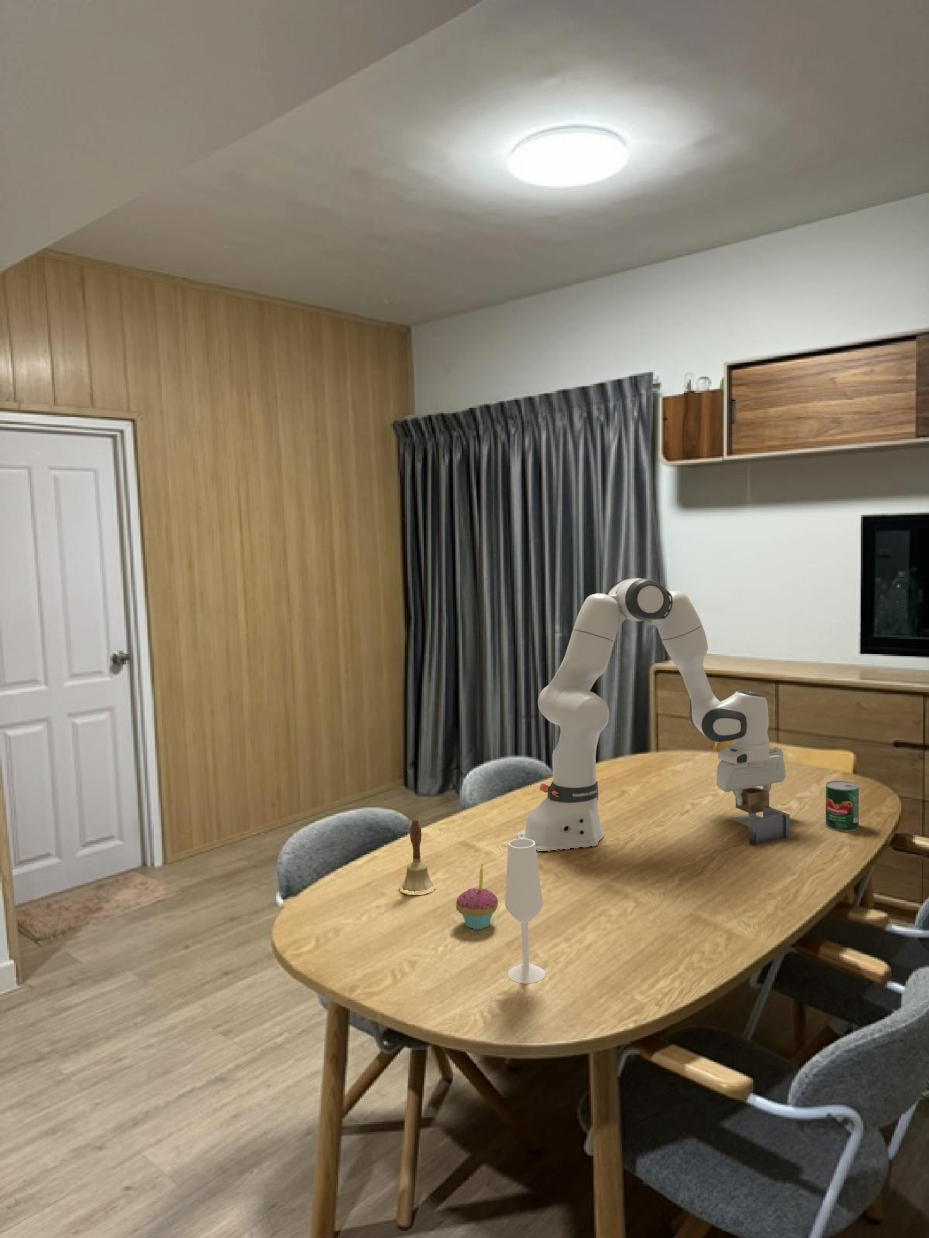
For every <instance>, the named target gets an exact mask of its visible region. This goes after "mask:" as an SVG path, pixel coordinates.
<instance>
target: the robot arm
mask: <svg viewBox="0 0 929 1238" xmlns="http://www.w3.org/2000/svg"><path fill="white" fill-rule="evenodd" d="M626 620H629V621H631V622H643V621H645V622H646V621H651V622H652V623H653V625H655V627H656V629H657V630H658V631H657V632H658V633H659V636H660V639H661V642H662V645H663V646H664V648H665V650H666V652H667V654H668V656H669V657H670V659H671V661H672V662H673V663H674V665H675V667H676V669H678V671H679V673H680V676H681V679H682V682H683V684H684V687H685V690H686V692H687V695H688V698H689V721H690V723H691V724H692V726H693V728H694V729H696V730H697V731H698V732H700V733H701V734H702V735H703V736H704V737H706V738H707V739H708V740H710V741H712V742H715V743H724V742H729V741H733V743H731V744H730V745H729V746H727V747H726V748H723V749H722V750H720V751H719V752H718V753H717V759H718V760H719V762H718V764H717V767H716V768H717V769H716V785H717V787H718V789H719V790H721V791H723V792H727V793H731V792H732V794H733V795H734V796H735V802H736V801H737V805H740V806H741V805H745V798H742V796H741V794H740V793H742V789H746V788H752V787H757V788H758V787H762V789H763V790H766V791H768V792H769V793H770V791H771V789H772V785H773V784H778V783H784V782H785V780H786V778H787V775H786V765H785V760H784V752H783V751H782V749H781V748H779V747H771V748H770V739H769V735H768V730H769V726H770V721H769V707H768V705H769V704H768V701H767V699H766V697H765V696H764V695H763V694H761V693H759V692H756V691H754V690H746V689H739V690H736V691H735V692H734V693H733V694H732V695H731V696H729V697H727V698H726V699H724V700H720V699H719V698H718V697H716V695H715V694H714V693H713V690H712V687H711V684H710V682H709V679H708V676H707V673H706V672H705V667H704V659H705V657H706V655H707V653H708V651H709V645H708V639H707V635H706V632H705V629H704V627H703V623H702V621H701V619H700V617H699V615H698V612H697V610H696V608H695V607H694V605H693V603H692V601H691V599H690V598H689V597H688V595H687V594H686V593H684V592H683V591H681V590H667V589H666V588H665V587H664V586H663V585H662V584H661V583H660V582H657V581H656V580H654V579H651V578H647V577H645V578H640V577H633V578H628V579H622V580H620V581H618V582H616V583H615V584H613V586H612V587H610V589H608V591H606V593H594V594H593V593H592V594H590V595H589V596H587V597H586V599H585V600H584V601H583V603H582V605H581V608H580V610H579V612H578V614H577V617H576V620H575V622H574V625H573V628H572V631H571V635H570V639H569V642H568V644H567V649H566V651H565V653H564V654H565V655H564V656H563V660H562V661H561V663H560V665H559V667H558V670H557V671H556V672H555V675H554V676H553V678H552V679H551V681H550V682H549V684H548V685H546V686H545V687H544V688H542V690H541V691H540V692H539V694H538V699H537V706H538V709H539V712H540V713H541V715H543V716H544V718H545V719H546V720H547V721H549V722H550V723H552V724H553V725H556V726H559V728H560V730H559V731H560V733H559V737H558V738H559V739H558V742H557V745H556V747H555V748H554V749H553V751H552V755H551V756H552V757H551V759H552V781H551V783H550V785H547V784H546V783H545V782H544V783H541V784H540V785H539V790H540V791H541V792H543V793H545V794H546V793H547V795H546V796H547V797H545V799H543V800H542V801H541V802H540V803H539V804H538V805H537V806H536V807H535V808H533V810H531V811H530V812H529V813H528V815H527V817H526V821H525V830H522V831H518V832H517V836H516V837H517V838H518V839H530V840H533V841H534V842H535V845H536V850H538V851H537V852H539V850H540V851H548V850H554V849H565V850H571V849H570V848H574V849H580V848H579V847H583V848H589V847H590V846H592V847H596V845H597V846H598V845H599V842H600V841H601V840H602V839H603V838H604V836H605V833H604V830H603V826H602V822H601V819H600V813H599V806H598V801H599V785H598V784H599V783H598V781H597V766H596V764H597V763H596V759H597V758H596V757H597V746H598V743H599V738H600V736H601V733H602V731H603V730H605V728H606V726H607V725H608V724H609V720H610V717H611V716H610V709H609V708H610V707H609V706H608V704H607V702H606V701H605V700H604V699H602V697H600V695H598V694H596V693H595V692H593V691H591V690H592V688H593V685H594V684H595V683H596V681H597V680H598V679H599V677H601V676H602V675H603V674H604V673H605V672H606V670H607V668H608V666H609V665H608V664H609V662H610V658H611V656H612V655H611V654H612V651H613V648H614V645H615V641H616V637H617V635H618V634H617V633H618V631H619V629H620V626H621V625H622V623H623V622H624V621H626ZM517 838H516V839H517ZM548 852H549V851H548Z"/></svg>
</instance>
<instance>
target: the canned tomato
mask: <svg viewBox="0 0 929 1238" xmlns="http://www.w3.org/2000/svg"><path fill="white" fill-rule="evenodd" d="M859 804H860V786H859V784H857V783H855V782H852V781H846V780H845V781H844V780H832V781H831V780H830V781H828V782H825V826H826V827H827V828H828V829H830V830H832V831H837V832H855V831H857V830H859V829H860V826H859V825H860V824H859V823H860V819H859V816H860V805H859Z"/></svg>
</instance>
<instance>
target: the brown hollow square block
mask: <svg viewBox="0 0 929 1238" xmlns="http://www.w3.org/2000/svg"><path fill="white" fill-rule="evenodd" d="M740 794H741V796H742V798H745V805H741V806H740V805H737V801H736V800H735V808H736V809H738V810H741V811H742V812H746V813H748V814H749V813H756V814H757V813H763V806H769V807H770V791H769V792H768V791H766V790H763V788H760V787H758V786H757V787H752V788H746V789H742V793H740Z"/></svg>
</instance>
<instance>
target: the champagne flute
mask: <svg viewBox="0 0 929 1238" xmlns="http://www.w3.org/2000/svg"><path fill="white" fill-rule="evenodd" d="M507 844H508V845H507V862H506V864H507V865H506V876H505V877H506V879H505V880H506V881H505V882H506V883H505V896H504V897H505V899H504V900H505V901H504V905H505V908H506V910H507V912H508V913H509V914H510V915H511V916H512V917H513V918H514V919H515V920H517V921H518V922H520V924H521V948H522V950H521V951H522V963H520V964H518V965H516V966H514V967H511V968H510V969H509V970H508V972H507V976H508V979H510V980H511V981H513V982H515V983H519V984H525V985H526V984H534V983H538V982H540V981H542V980H544V978H545V977H546V971H545V970H544V969H543V968H541V967H540V966H537V965H535V964H532V963H530V944H529V943H530V941H529V923H530V922H531V921H533V919H534V918H535V917H537V916H538V914H539V913H540V912H541V910H542V909H543V905H544V901H543V892H542V886H541V885H542V884H541V878H540V870H539V862H538V855H537V851H536V845H535V842H534V841H533V840H530V839H517V838H516V839H515V838H514V839H512V840H510V841H508V843H507Z"/></svg>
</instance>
